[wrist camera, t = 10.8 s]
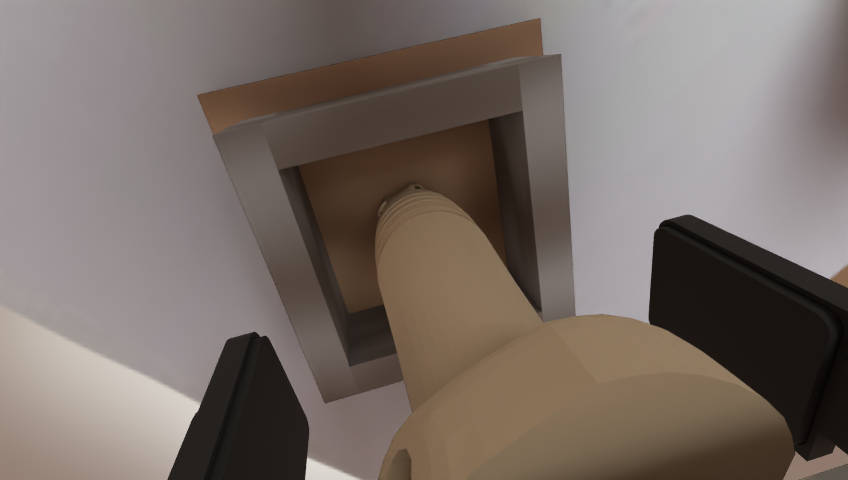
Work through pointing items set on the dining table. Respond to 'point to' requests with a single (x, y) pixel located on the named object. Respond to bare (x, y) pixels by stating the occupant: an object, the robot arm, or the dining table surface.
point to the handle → (547, 375)
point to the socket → (398, 180)
